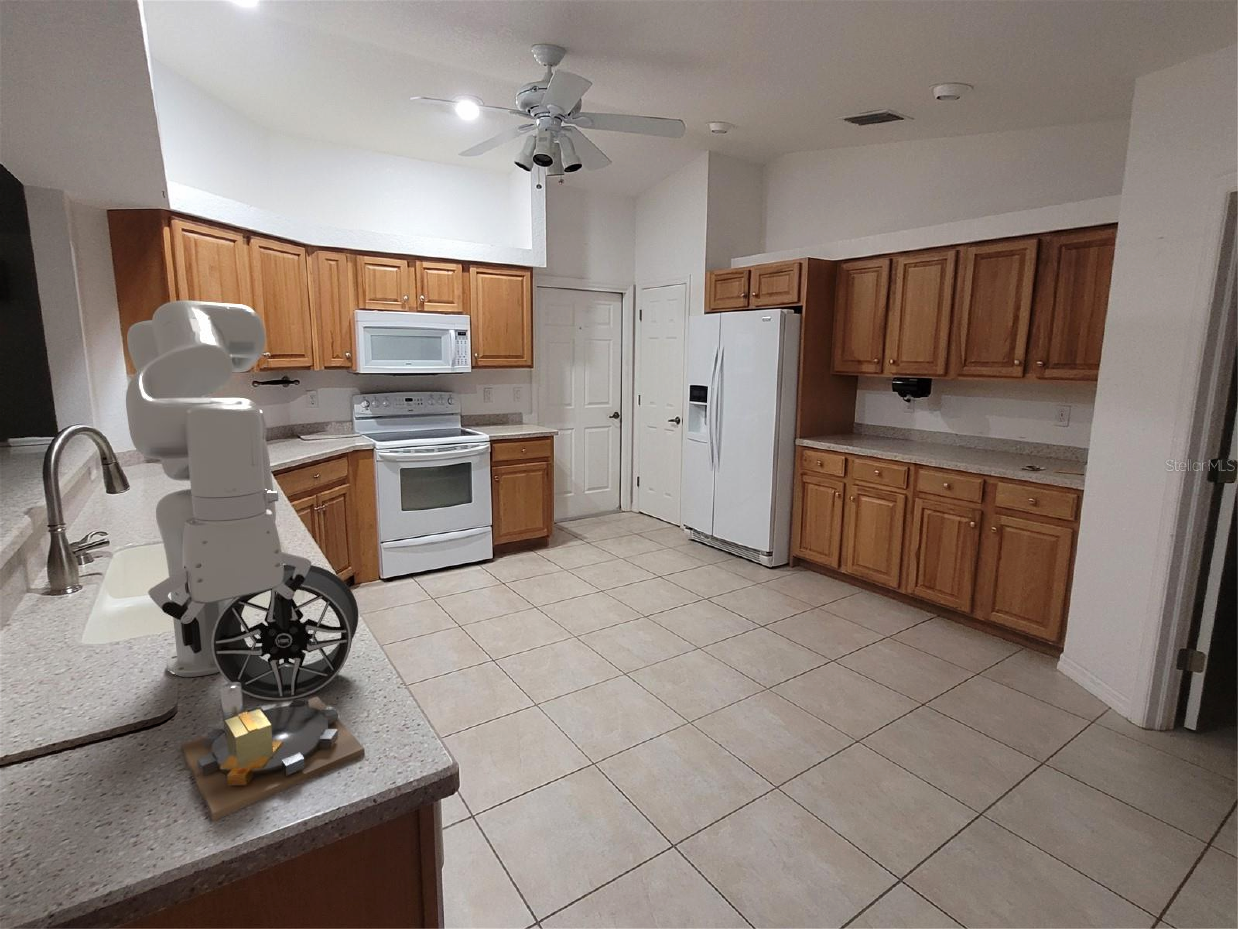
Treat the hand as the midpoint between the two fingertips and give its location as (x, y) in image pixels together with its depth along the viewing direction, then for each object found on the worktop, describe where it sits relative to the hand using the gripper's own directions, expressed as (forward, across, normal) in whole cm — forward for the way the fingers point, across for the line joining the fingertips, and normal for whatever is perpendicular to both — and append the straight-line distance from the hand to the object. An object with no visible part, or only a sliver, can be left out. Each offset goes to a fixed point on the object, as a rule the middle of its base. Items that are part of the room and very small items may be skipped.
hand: (240, 636), depth 76 cm
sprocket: (+18, -4, -3) cm, 19 cm away
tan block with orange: (+16, 0, 0) cm, 16 cm away
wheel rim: (+20, -12, -20) cm, 31 cm away
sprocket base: (+20, -4, -3) cm, 20 cm away
